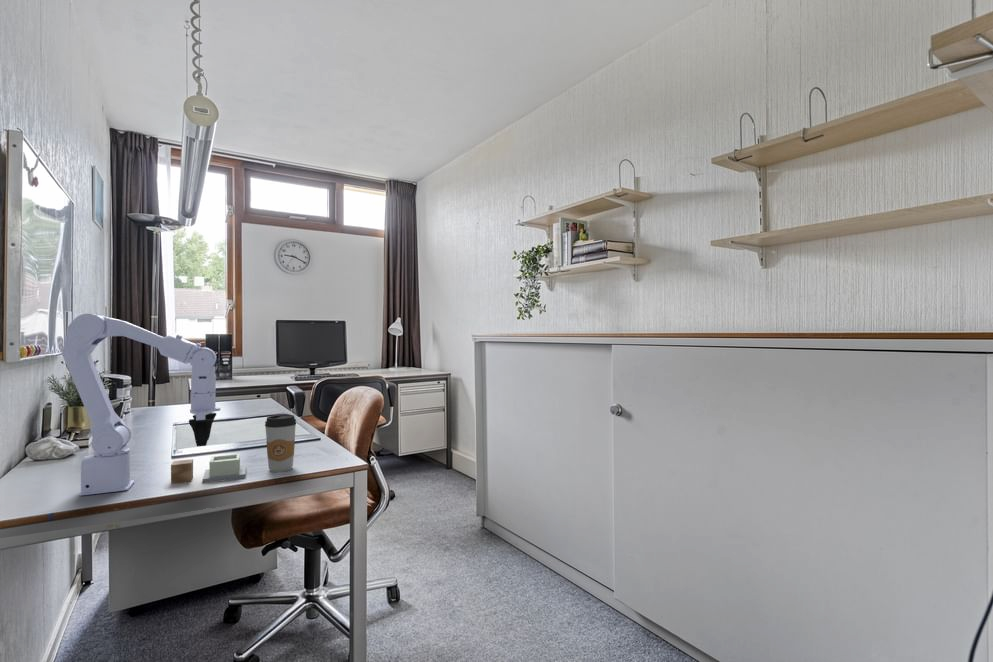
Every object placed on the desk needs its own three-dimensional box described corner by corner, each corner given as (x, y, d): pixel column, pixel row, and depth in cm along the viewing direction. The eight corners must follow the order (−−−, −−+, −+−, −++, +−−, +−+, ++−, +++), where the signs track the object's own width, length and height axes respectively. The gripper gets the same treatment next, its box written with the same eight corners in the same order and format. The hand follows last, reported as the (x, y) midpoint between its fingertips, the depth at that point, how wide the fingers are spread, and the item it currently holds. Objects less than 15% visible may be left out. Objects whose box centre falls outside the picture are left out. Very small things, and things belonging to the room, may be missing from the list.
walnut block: (170, 484, 128) (170, 465, 128) (173, 479, 132) (173, 461, 132) (191, 482, 130) (191, 463, 130) (193, 477, 134) (193, 459, 134)
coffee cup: (262, 474, 137) (262, 420, 137) (267, 466, 145) (267, 415, 145) (294, 471, 139) (294, 418, 139) (298, 464, 147) (298, 413, 147)
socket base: (202, 483, 129) (202, 464, 129) (205, 473, 138) (205, 456, 138) (245, 477, 133) (245, 460, 133) (245, 468, 142) (245, 452, 142)
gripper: (218, 394, 129) (218, 447, 129) (221, 389, 142) (221, 436, 142) (186, 396, 125) (186, 449, 125) (193, 390, 139) (192, 438, 138)
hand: (202, 442), depth 133 cm, fingers open, 7 cm apart
